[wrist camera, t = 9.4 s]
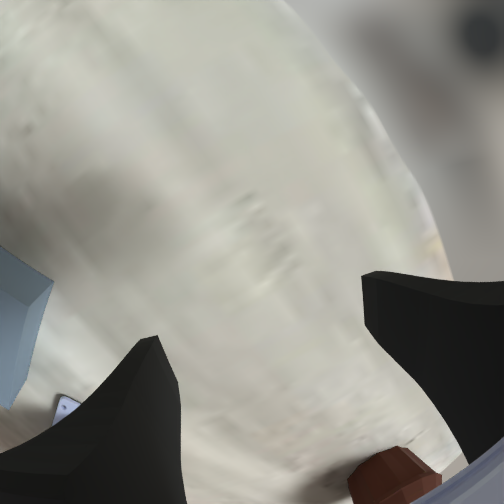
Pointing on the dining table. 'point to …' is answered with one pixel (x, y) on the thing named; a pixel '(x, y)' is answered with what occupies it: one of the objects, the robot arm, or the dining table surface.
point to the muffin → (392, 478)
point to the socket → (18, 321)
